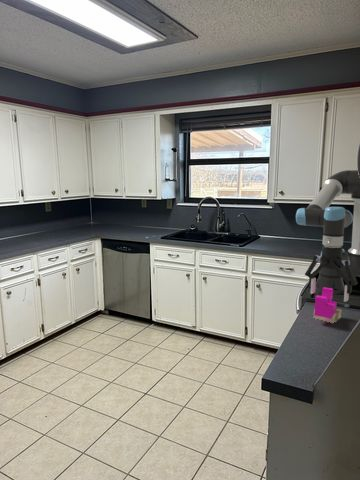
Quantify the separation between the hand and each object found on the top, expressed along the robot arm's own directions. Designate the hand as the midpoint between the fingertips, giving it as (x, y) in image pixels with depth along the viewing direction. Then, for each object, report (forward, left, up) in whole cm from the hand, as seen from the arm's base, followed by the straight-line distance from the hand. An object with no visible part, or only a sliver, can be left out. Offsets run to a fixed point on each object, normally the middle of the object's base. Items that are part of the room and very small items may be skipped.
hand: (328, 296), depth 143 cm
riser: (0, 0, -10) cm, 10 cm away
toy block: (+2, 0, -6) cm, 6 cm away
